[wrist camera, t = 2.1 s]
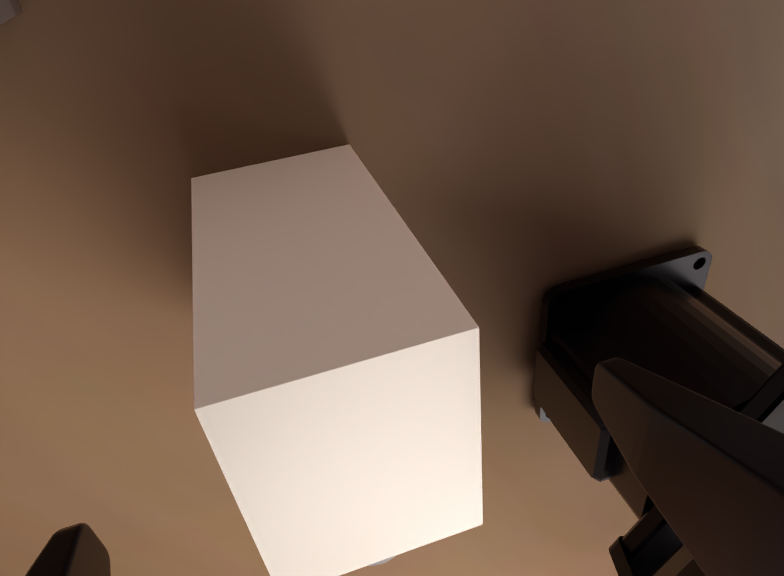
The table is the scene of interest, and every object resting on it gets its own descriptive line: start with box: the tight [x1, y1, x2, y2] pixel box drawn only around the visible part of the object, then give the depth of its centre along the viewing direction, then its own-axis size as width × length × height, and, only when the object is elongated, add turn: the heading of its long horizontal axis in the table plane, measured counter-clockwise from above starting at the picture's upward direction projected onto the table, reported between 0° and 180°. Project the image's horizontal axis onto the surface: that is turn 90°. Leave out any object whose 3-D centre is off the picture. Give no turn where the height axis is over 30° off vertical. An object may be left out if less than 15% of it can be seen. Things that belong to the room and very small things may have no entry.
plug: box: [191, 144, 483, 576], centre depth 13 cm, size 4×6×8 cm, turn 6°
